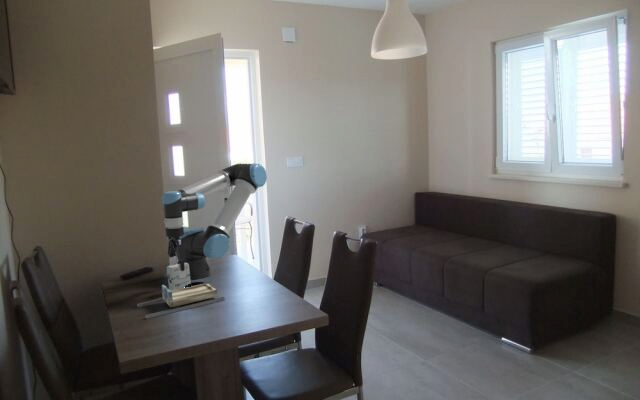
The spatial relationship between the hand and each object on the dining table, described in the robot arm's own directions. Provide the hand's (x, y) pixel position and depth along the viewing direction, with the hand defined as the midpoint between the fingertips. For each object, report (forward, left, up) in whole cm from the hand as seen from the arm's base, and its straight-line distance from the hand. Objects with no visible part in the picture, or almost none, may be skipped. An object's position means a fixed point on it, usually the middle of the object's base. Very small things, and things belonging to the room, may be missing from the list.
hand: (178, 274), depth 204 cm
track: (+17, -4, -8) cm, 19 cm away
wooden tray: (+17, 0, -8) cm, 18 cm away
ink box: (0, 0, -8) cm, 8 cm away
